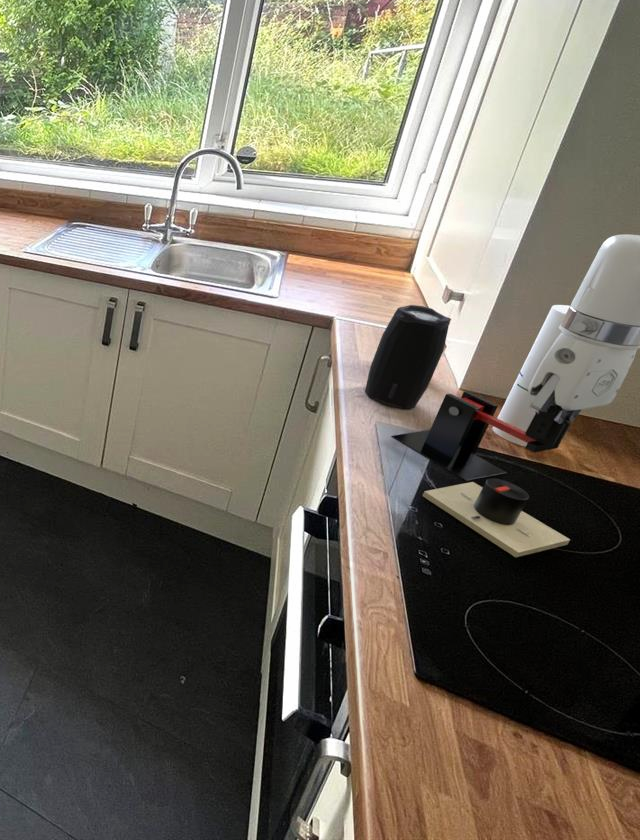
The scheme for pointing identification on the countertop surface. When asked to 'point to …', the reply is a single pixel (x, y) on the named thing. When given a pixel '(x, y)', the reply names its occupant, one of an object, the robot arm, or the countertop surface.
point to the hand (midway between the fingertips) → (541, 440)
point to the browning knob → (501, 501)
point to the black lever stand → (455, 438)
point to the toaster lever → (509, 429)
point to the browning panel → (510, 538)
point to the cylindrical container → (530, 377)
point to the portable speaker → (407, 356)
